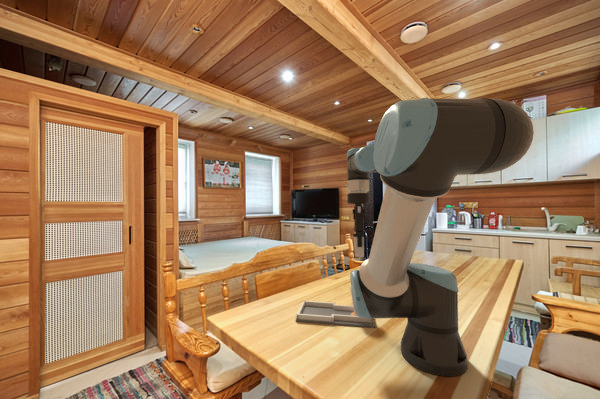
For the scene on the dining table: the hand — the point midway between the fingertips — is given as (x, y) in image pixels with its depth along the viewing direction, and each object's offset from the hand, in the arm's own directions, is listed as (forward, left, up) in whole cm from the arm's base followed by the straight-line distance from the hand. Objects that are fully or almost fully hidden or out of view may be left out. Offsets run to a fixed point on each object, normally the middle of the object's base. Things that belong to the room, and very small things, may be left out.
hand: (358, 253), depth 88 cm
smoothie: (0, 0, -22) cm, 22 cm away
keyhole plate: (0, +9, -22) cm, 24 cm away
